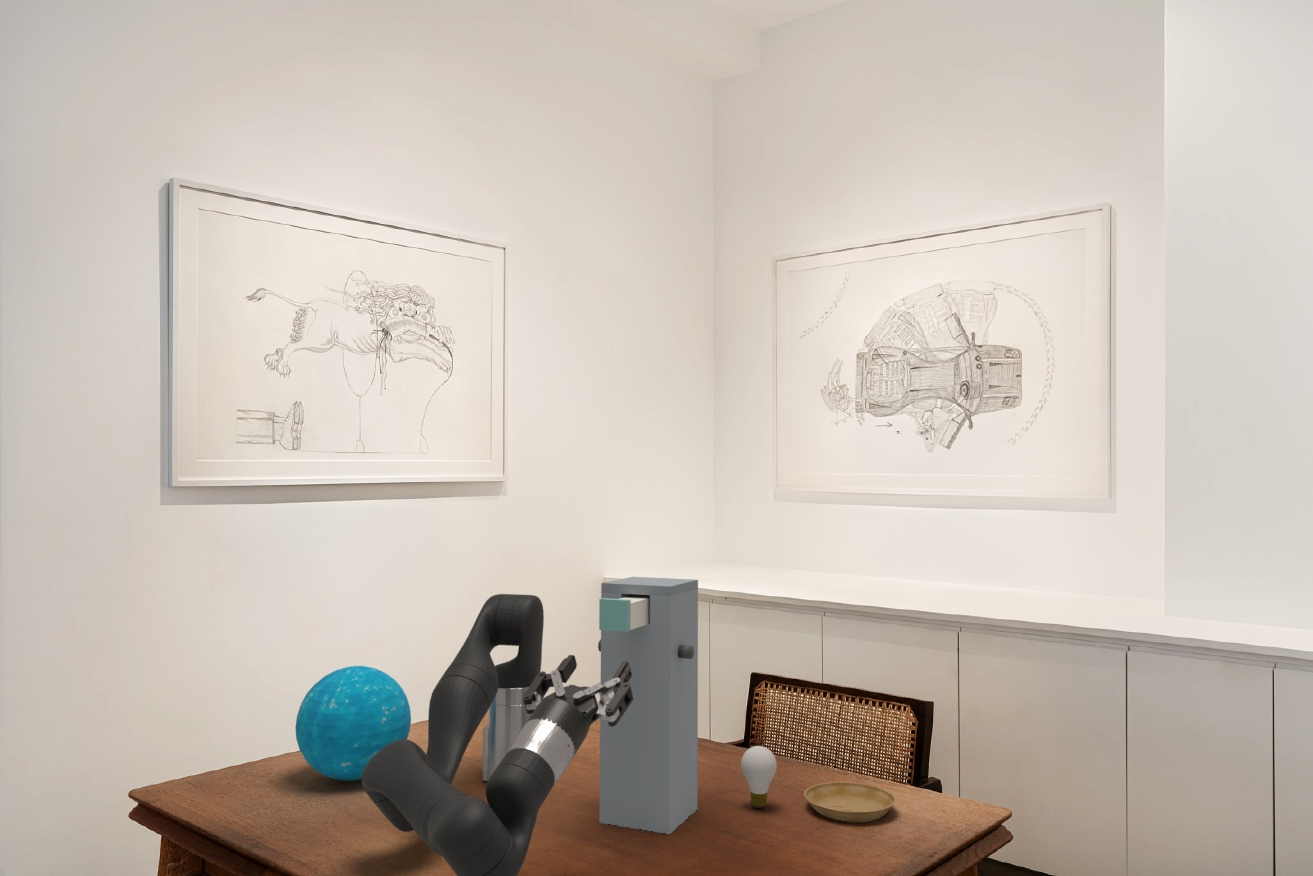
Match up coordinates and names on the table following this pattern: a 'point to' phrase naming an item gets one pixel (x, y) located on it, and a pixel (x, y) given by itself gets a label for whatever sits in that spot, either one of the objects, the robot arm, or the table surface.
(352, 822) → the table surface
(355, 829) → the table surface
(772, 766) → the light bulb
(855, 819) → the plant saucer
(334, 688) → the decorative sphere
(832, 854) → the table surface
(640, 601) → the block
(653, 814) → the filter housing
